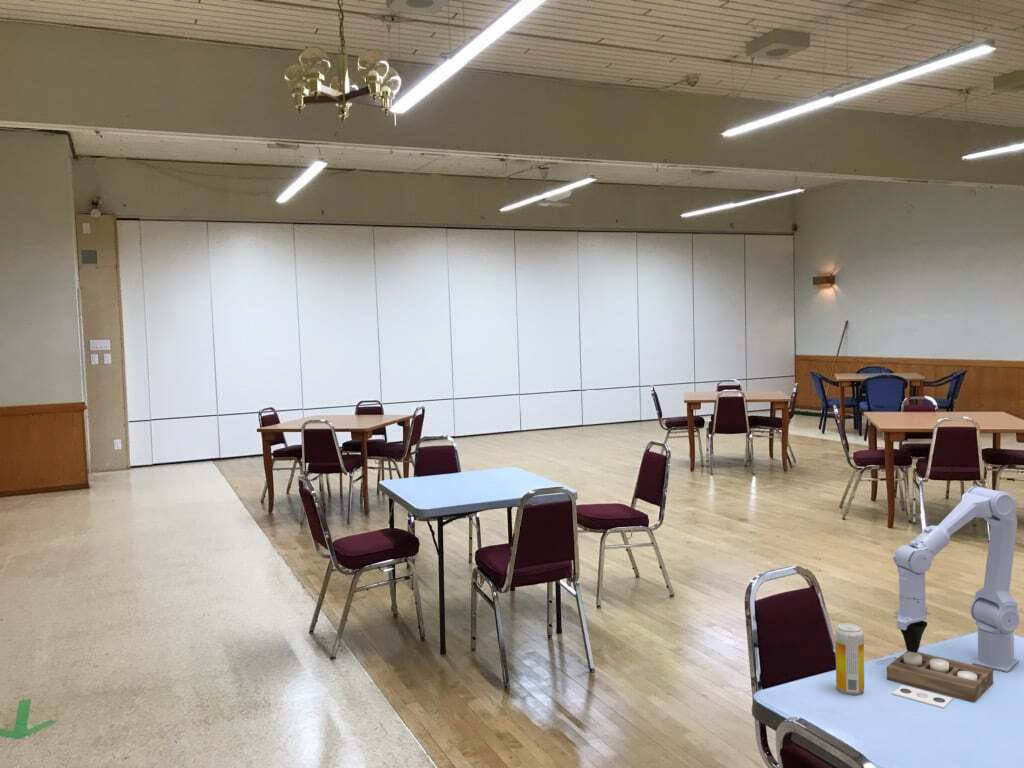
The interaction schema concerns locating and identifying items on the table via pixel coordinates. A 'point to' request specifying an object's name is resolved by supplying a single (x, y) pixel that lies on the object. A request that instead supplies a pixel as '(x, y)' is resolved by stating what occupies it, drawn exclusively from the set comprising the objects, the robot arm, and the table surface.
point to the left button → (913, 659)
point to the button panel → (941, 677)
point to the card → (922, 696)
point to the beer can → (850, 658)
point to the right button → (967, 675)
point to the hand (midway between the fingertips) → (912, 651)
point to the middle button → (939, 665)
